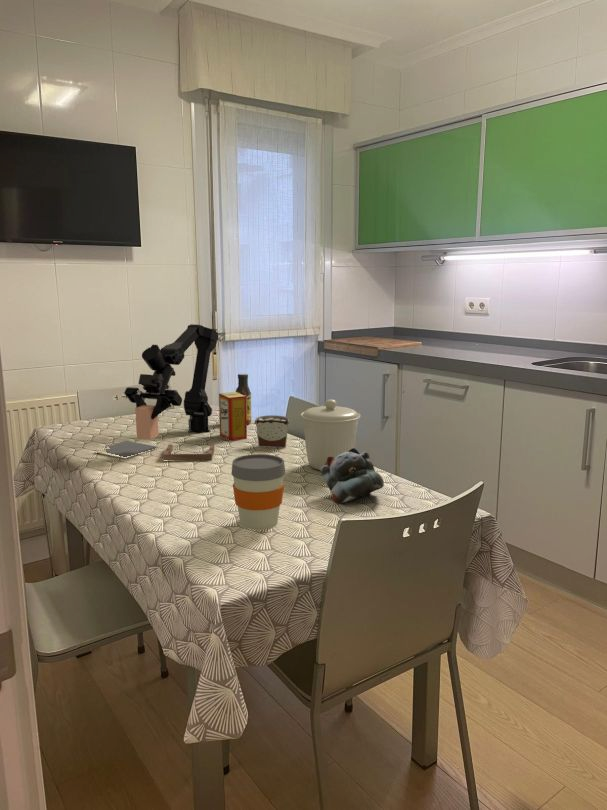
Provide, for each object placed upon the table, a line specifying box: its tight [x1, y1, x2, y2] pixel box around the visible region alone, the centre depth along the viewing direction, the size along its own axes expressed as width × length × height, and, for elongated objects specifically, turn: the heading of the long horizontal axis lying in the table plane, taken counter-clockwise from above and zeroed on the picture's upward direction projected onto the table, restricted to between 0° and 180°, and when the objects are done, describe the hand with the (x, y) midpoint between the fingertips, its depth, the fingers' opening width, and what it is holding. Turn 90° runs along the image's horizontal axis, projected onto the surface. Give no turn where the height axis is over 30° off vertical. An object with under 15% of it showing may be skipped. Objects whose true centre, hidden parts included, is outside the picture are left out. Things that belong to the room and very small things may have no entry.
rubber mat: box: [104, 440, 157, 457], centre depth 206 cm, size 14×14×1 cm
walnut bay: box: [162, 443, 215, 462], centre depth 201 cm, size 13×15×2 cm
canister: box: [300, 399, 361, 471], centre depth 188 cm, size 18×18×21 cm
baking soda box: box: [218, 391, 248, 442], centre depth 224 cm, size 10×6×16 cm
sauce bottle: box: [235, 373, 252, 425], centre depth 245 cm, size 7×6×20 cm
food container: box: [254, 414, 291, 449], centre depth 214 cm, size 12×6×10 cm, turn 84°
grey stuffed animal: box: [319, 447, 385, 505], centre depth 164 cm, size 15×12×14 cm
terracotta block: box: [134, 404, 159, 440], centre depth 200 cm, size 5×5×10 cm
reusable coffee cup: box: [231, 453, 286, 530], centre depth 145 cm, size 12×13×15 cm
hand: (144, 418), depth 199 cm, fingers closed on terracotta block, 5 cm apart
